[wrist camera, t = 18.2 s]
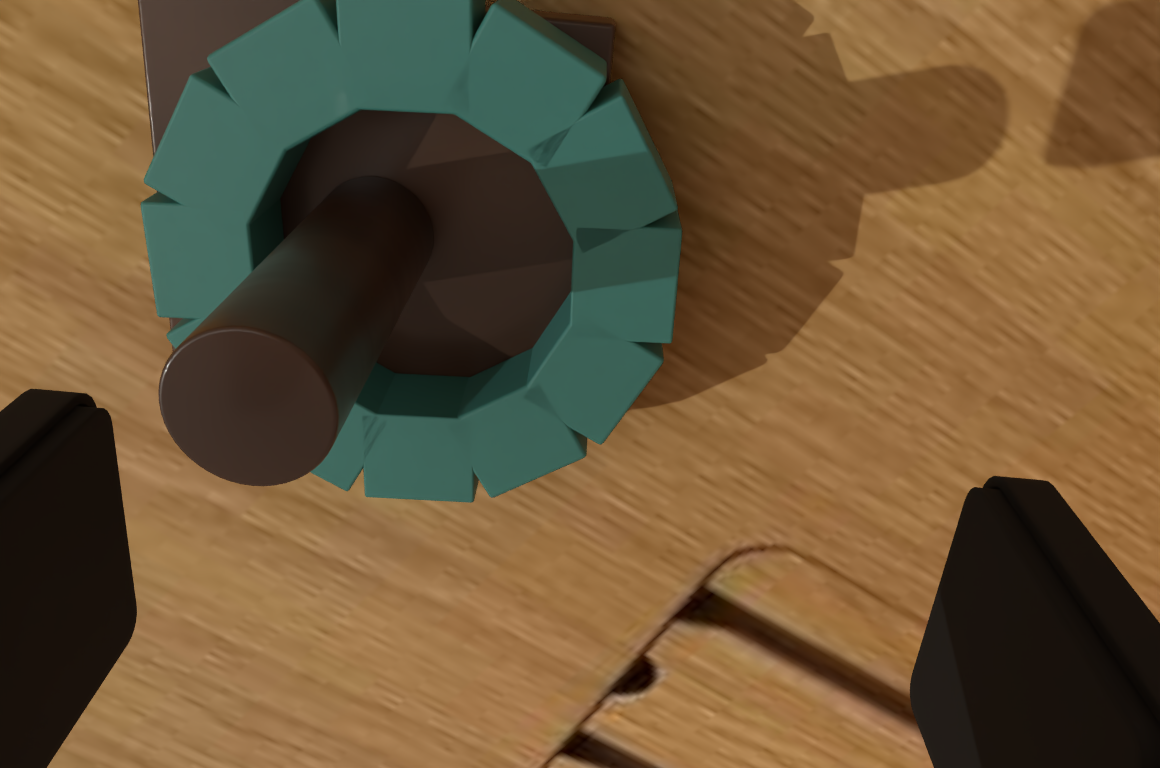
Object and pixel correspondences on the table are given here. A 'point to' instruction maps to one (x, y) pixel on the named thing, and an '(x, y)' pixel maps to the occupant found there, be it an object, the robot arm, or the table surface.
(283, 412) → the post
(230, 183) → the ring
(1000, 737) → the robot arm
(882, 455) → the table surface
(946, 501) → the table surface
